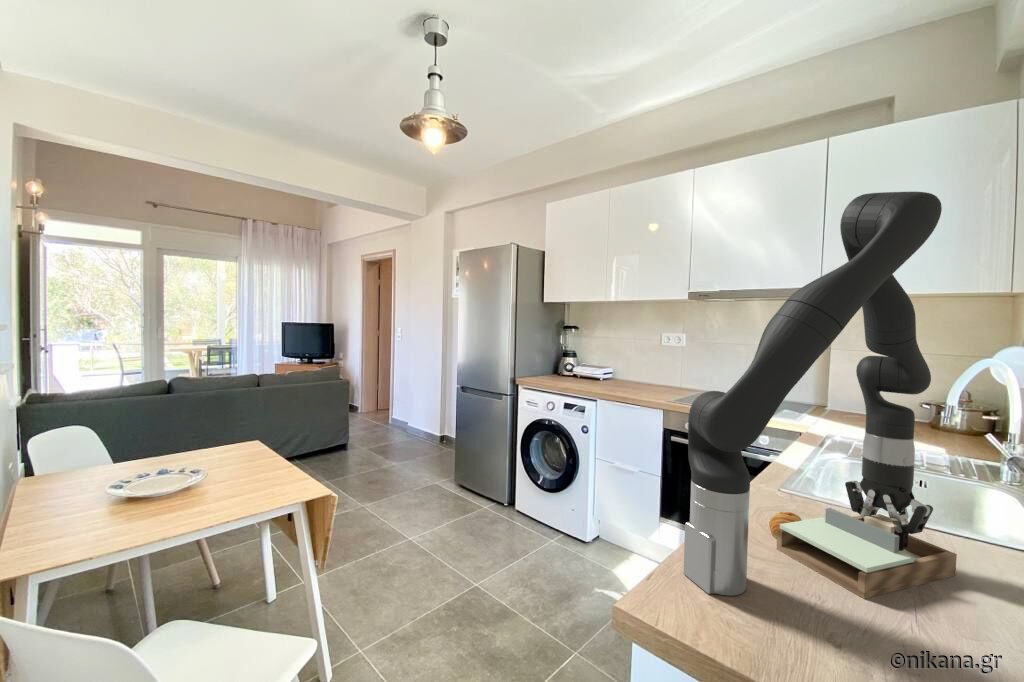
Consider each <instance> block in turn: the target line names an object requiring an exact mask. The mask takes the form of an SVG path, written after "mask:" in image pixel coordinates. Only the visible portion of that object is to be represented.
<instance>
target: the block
mask: <svg viewBox="0 0 1024 682" xmlns="http://www.w3.org/2000/svg"><path fill="white" fill-rule="evenodd" d="M864 522H866V523H868V524H871V525H873V526H875V527H878V528H880V529H883V530H885V531H888V532H890V533H893V534H894V531H895V529H894V525H893V522H892V519H890V517H889V516H886V515H884V514H881V513H877V514H876V515H871V516H866V517H864ZM904 550H905V549H904Z"/></svg>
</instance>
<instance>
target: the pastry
mask: <svg viewBox="0 0 1024 682" xmlns="http://www.w3.org/2000/svg"><path fill="white" fill-rule="evenodd" d="M802 520H803V519H802V518H801V517H800V516H799V515H797V513H793V512H791V511H779V512H777V513H776V514H775V515H773V516H772V517H770V520H769V521H768V524H769V525H768V526H769V530H770V533H771V536H772V537H773V538H775V539H777V530H778V529H781V528H780V524H784V523H790V522H796V521H802Z"/></svg>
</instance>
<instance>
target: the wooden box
mask: <svg viewBox="0 0 1024 682" xmlns="http://www.w3.org/2000/svg"><path fill="white" fill-rule="evenodd" d="M853 517H854V518H856V519H858V520H861V521H862V517H861V515H856V516H855V515H854V516H853ZM776 550H778V551H780V552H781V553H783V554H785V555H786V556H788V557H790V558H792V559H793V560H795V561H797V562H798V563H800V564H802V565H804V566H805V567H807V568H809V569H811V570H813V571H814V572H816V573H818V574H819V575H822V576H823V577H825V578H826V579H829V580H830V581H831V582H834V583H836V584H837V585H839V586H841V587H842V588H844V589H846V590H848V591H849V592H851V593H853V594H855V595H856V596H858V597H859V598H862V599H863V600H864V599H869V598H873V597H877V596H881V595H884V594H889V593H891V592H897V591H899V590H904V589H907V588H912V587H916V586H919V585H924V584H927V583H931V582H935V581H939V580H944V579H947V578H951V577H954V576H956V572H957V569H956V568H957V553H955V552H952V551H950V550H948V549H945V548H942V547H940V546H937V545H935V544H933V543H930V542H927V541H925V540H922V539H920V538H918V537H916V536H913V535H911V534H908V547H907V549H905V550H903V551H901V552H904V553H906V554H908V555H911V556H913V557H915V560H914V562H911V563H907V564H903V565H898V566H894V567H890V568H885V569H881V570H877V571H872V572H868V573H866V572H864V571H862V570H860V569H858V568H856V567H854V566H852V565H851V564H849V563H847V562H845V561H843V560H841V559H839V558H837V557H835V556H833V555H831V554H829V553H827V552H825V551H823V550H821V549H819V548H817V547H816V546H814V545H812V544H810V543H808V542H806V541H804V540H802V539H800V538H798V537H796V536H794V535H792V534H790V533H788V532H786V531H784V530H782V529H778V530H777V538H776Z"/></svg>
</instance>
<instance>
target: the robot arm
mask: <svg viewBox="0 0 1024 682" xmlns="http://www.w3.org/2000/svg"><path fill="white" fill-rule="evenodd" d="M942 209H943V207H942V202H941V200H940V199H939V198H938V196H937V195H935V194H934V193H930V192H927V191H926V192H925V191H892V192H891V191H889V192H888V191H887V192H886V191H885V192H871V193H870V192H869V193H864V194H860V195H858V196H856V197H855V198H853V199H852V200H851V201H850V202H849V203H848V204H847V205H846V207H845V208H844V210H843V212H842V215H841V218H840V223H839V224H840V225H839V226H840V236H841V241H842V245H843V248H844V251H845V254H846V257H847V260H848V261H847V262H845V263H844V264H843V265H841V266H839V267H837V268H836V269H833V270H832V271H829V272H828V273H825V274H823V275H822V276H820V277H818V278H816V279H814V280H812V281H810V282H809V283H807V284H805V285H804V286H802V287H800V288H799V289H797V290H796V291H795V292H793V294H791V295H790V296H789V297H788V298H787V299H786V301H785V302H784V303H782V305H781V307H780V308H779V309H778V310H777V311H776V313H775V314H774V315H773V316H772V317H771V319H770V320H769V322H767V324H766V326H765V328H764V329H763V332H762V333H761V337H760V339H759V343H758V345H757V349H756V352H755V353H754V354H755V355H754V356H753V360H752V361H751V364H749V366H748V368H747V370H745V372H744V373H743V374H742V375H741V377H739V379H738V380H737V381H736V382H735V383H734V385H733V386H732V387H730V389H729V390H727V392H724V391H718V390H717V391H716V390H710V391H705V392H703V393H702V394H700V395H698V396H697V397H696V398H695V399H694V400H693V402H692V404H691V406H690V409H689V412H688V423H687V427H688V428H687V434H688V435H687V447H688V449H687V450H688V451H687V454H688V462H689V466H690V471H691V472H690V473H691V477H690V478H691V479H690V505H689V506H690V507H689V508H690V509H689V512H690V513H689V521H687V522H685V524H684V549H683V550H684V551H683V575H685V576H686V577H687V578H688V579H689V580H690V581H692V582H693V583H694V584H695V585H697V586H698V587H699V588H700V589H702V590H703V591H704V592H705V593H706V594H707V595H711V594H718V595H721V596H729V597H730V596H739V595H742V594H743V593H744V592H745V591H746V589H747V576H748V575H747V574H748V572H747V571H748V545H749V544H748V542H749V538H748V537H749V521H750V519H749V516H750V514H749V513H750V492H751V474H750V472H749V470H748V467H747V466H746V464H745V461H744V458H743V453H742V451H743V450H745V449H746V448H748V447H750V446H751V445H752V444H754V442H756V441H757V439H759V437H760V435H761V434H763V433H762V432H763V431H764V430H765V428H766V427H767V425H768V424H769V422H770V421H771V419H772V418H773V416H774V415H775V413H776V412H777V410H778V409H779V407H780V406H781V404H782V403H783V401H784V400H785V398H786V397H787V396H788V394H789V393H790V392H791V390H792V389H793V388H794V387H795V386H796V385H797V384H798V383H799V382H800V380H801V379H802V378H803V377H804V376H805V375H806V373H807V372H808V371H809V369H810V368H811V367H812V366H813V365H814V363H815V362H816V361H817V360H818V359H819V358H820V356H821V355H823V353H824V352H825V351H826V350H827V349H828V348H829V347H830V346H831V344H833V342H834V341H835V339H836V338H837V337H838V336H840V334H841V333H842V332H843V330H844V329H845V328H846V326H848V324H849V323H850V321H851V320H852V318H853V317H854V316H855V315H856V314H857V313H858V312H859V311H860V309H862V314H863V325H864V326H863V327H864V329H863V330H864V339H865V340H864V341H865V345H866V348H867V349H868V350H869V351H871V352H872V353H875V354H878V355H867V356H865V357H863V358H862V359H860V361H859V362H858V363H857V366H856V372H855V373H856V378H857V381H858V384H859V387H860V390H861V392H862V393H861V394H862V396H863V401H864V406H865V431H864V432H865V433H864V439H863V443H862V445H863V446H862V458H861V459H862V461H861V476H862V479H861V481H857V480H851V481H846V482H845V485H844V486H845V488H846V493H847V496H848V500H849V504H850V509H851V511H852V512H853V513H857V514H859V516H861V517H862V521H863V522H864V517H866V516H871V515H877V514H878V511H879V510H881V509H883V510H884V511H886V512H887V514H888V517H889V518H890V519H892V522H893V525H894V529H895V531H894V534H895V535H897V536H899V551H903V550H904V549H907V547H908V535H913V534H915V535H916V534H920V533H922V532H923V531H924V529H925V528H926V527H925V526H926V524H927V523H928V521H929V519H930V516H931V515H932V513H933V511H934V508H933V506H932V505H930V504H923V503H922V502H920V501H919V500H917V499H915V495H914V494H913V486H914V481H915V478H914V476H915V457H916V449H915V440H914V438H915V424H916V423H915V422H916V421H915V420H916V419H915V418H916V417H915V416H916V415H915V412H914V410H913V409H911V408H909V407H907V406H904V405H900V404H896V403H892V402H891V401H888V400H887V399H885V398H884V397H883V396H882V395H881V392H884V393H893V394H894V393H895V394H904V395H919V394H922V393H924V392H925V391H926V390H927V389H928V388H929V387H930V385H931V382H932V375H931V370H930V368H929V366H928V363H927V361H926V360H925V358H924V356H923V354H922V352H921V350H920V347H919V345H918V341H917V340H918V339H917V326H916V325H917V322H916V321H917V320H916V311H915V308H914V305H913V302H912V300H911V298H910V296H909V295H908V293H907V292H906V291H905V289H904V288H903V286H902V285H901V284H900V282H899V281H898V280H897V278H896V277H895V275H894V273H895V272H896V271H897V270H899V269H900V268H901V266H903V264H905V263H906V262H907V261H908V260H909V259H910V258H911V257H912V256H913V255H914V254H915V253H916V252H917V251H918V250H919V249H920V248H921V247H922V246H923V245H924V244H925V243H926V242H927V240H928V239H929V238H930V236H931V235H932V234H933V233H934V231H935V229H936V227H937V226H938V223H939V221H940V218H941V216H942ZM863 493H864V495H865V496H866V498H865V500H864V495H863ZM910 505H911V512H912V515H911V518H910V520H909V516H910V515H909V513H908V507H909V506H910Z"/></svg>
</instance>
